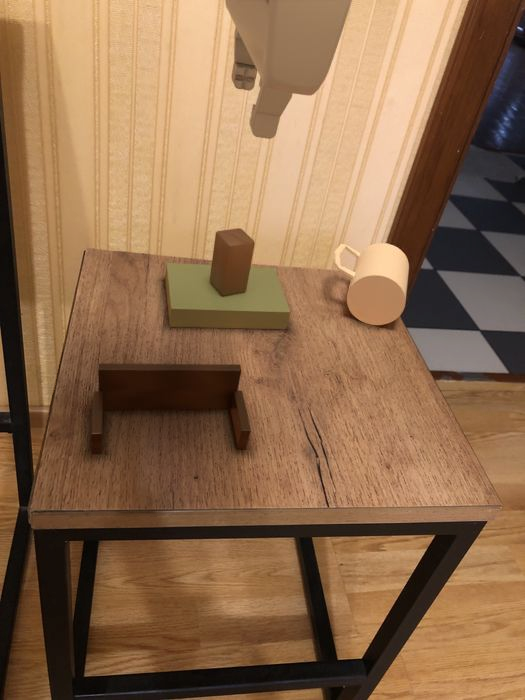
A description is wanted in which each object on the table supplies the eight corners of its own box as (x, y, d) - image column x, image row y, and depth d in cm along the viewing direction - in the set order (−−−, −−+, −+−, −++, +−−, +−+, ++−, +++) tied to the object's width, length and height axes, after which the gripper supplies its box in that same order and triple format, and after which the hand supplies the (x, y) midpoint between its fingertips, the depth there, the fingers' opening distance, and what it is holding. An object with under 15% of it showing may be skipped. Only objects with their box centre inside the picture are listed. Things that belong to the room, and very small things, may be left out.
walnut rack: (91, 453, 59) (90, 412, 55) (94, 403, 64) (93, 363, 60) (246, 449, 62) (255, 410, 59) (237, 402, 68) (244, 364, 64)
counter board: (169, 326, 76) (171, 308, 74) (165, 280, 84) (166, 262, 83) (286, 329, 80) (290, 312, 78) (271, 284, 88) (274, 267, 86)
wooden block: (233, 276, 83) (241, 226, 78) (247, 292, 80) (256, 241, 75) (208, 281, 81) (214, 230, 76) (221, 297, 78) (229, 245, 73)
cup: (313, 293, 84) (324, 261, 92) (383, 334, 85) (389, 299, 93) (343, 250, 79) (352, 220, 86) (417, 294, 80) (419, 260, 88)
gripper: (225, -137, 43) (198, 58, 52) (278, -99, 29) (229, 161, 38) (304, -116, 45) (265, 70, 54) (392, -69, 31) (319, 173, 40)
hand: (250, 108), depth 46 cm, fingers open, 8 cm apart
